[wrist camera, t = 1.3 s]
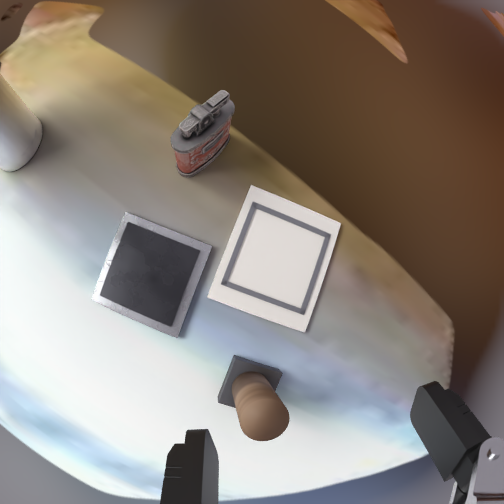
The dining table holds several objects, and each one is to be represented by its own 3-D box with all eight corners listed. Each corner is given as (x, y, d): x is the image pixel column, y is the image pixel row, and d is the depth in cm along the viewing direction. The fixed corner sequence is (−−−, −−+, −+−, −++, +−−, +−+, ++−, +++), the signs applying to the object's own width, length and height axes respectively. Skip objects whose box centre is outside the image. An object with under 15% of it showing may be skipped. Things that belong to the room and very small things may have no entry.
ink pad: (93, 299, 32) (89, 299, 30) (127, 213, 34) (124, 210, 32) (177, 336, 33) (176, 338, 31) (212, 247, 35) (212, 245, 33)
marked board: (206, 297, 34) (206, 297, 33) (250, 186, 36) (251, 184, 35) (303, 331, 35) (305, 332, 34) (339, 224, 37) (341, 223, 36)
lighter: (190, 183, 35) (184, 146, 25) (170, 166, 35) (159, 125, 25) (235, 140, 37) (245, 95, 27) (216, 124, 37) (220, 77, 27)
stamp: (217, 396, 33) (222, 438, 22) (233, 354, 34) (245, 383, 23) (261, 409, 33) (282, 452, 22) (278, 369, 34) (307, 400, 23)
